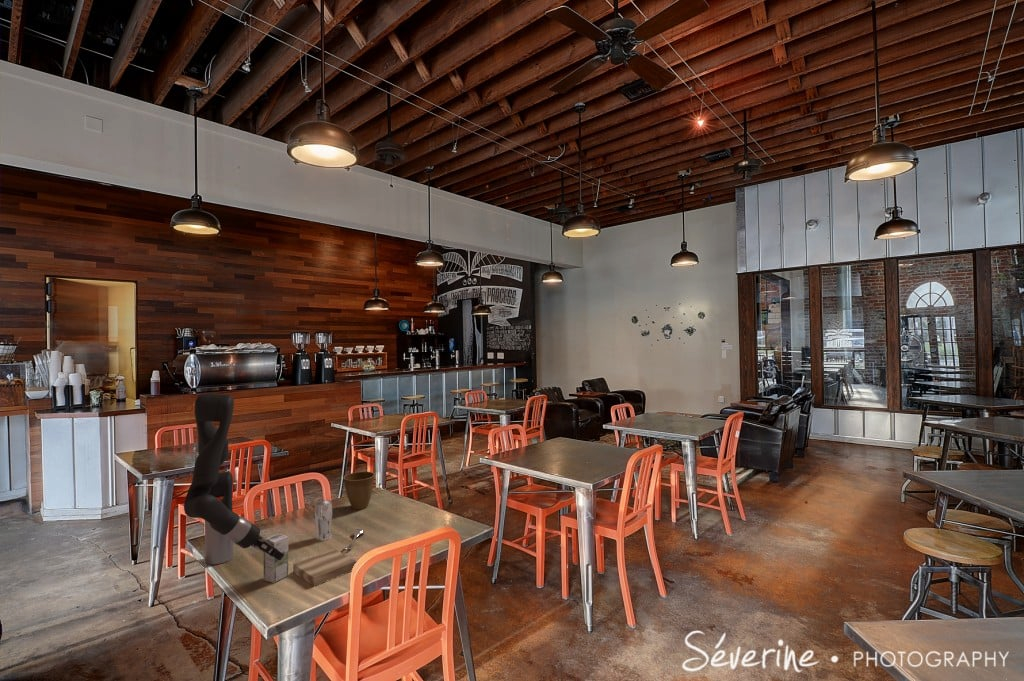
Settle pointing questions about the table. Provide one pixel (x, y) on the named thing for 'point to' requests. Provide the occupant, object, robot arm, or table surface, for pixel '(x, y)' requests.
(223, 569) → the table surface
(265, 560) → the syrup box
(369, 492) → the plant pot
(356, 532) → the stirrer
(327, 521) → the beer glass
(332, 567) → the maple board
